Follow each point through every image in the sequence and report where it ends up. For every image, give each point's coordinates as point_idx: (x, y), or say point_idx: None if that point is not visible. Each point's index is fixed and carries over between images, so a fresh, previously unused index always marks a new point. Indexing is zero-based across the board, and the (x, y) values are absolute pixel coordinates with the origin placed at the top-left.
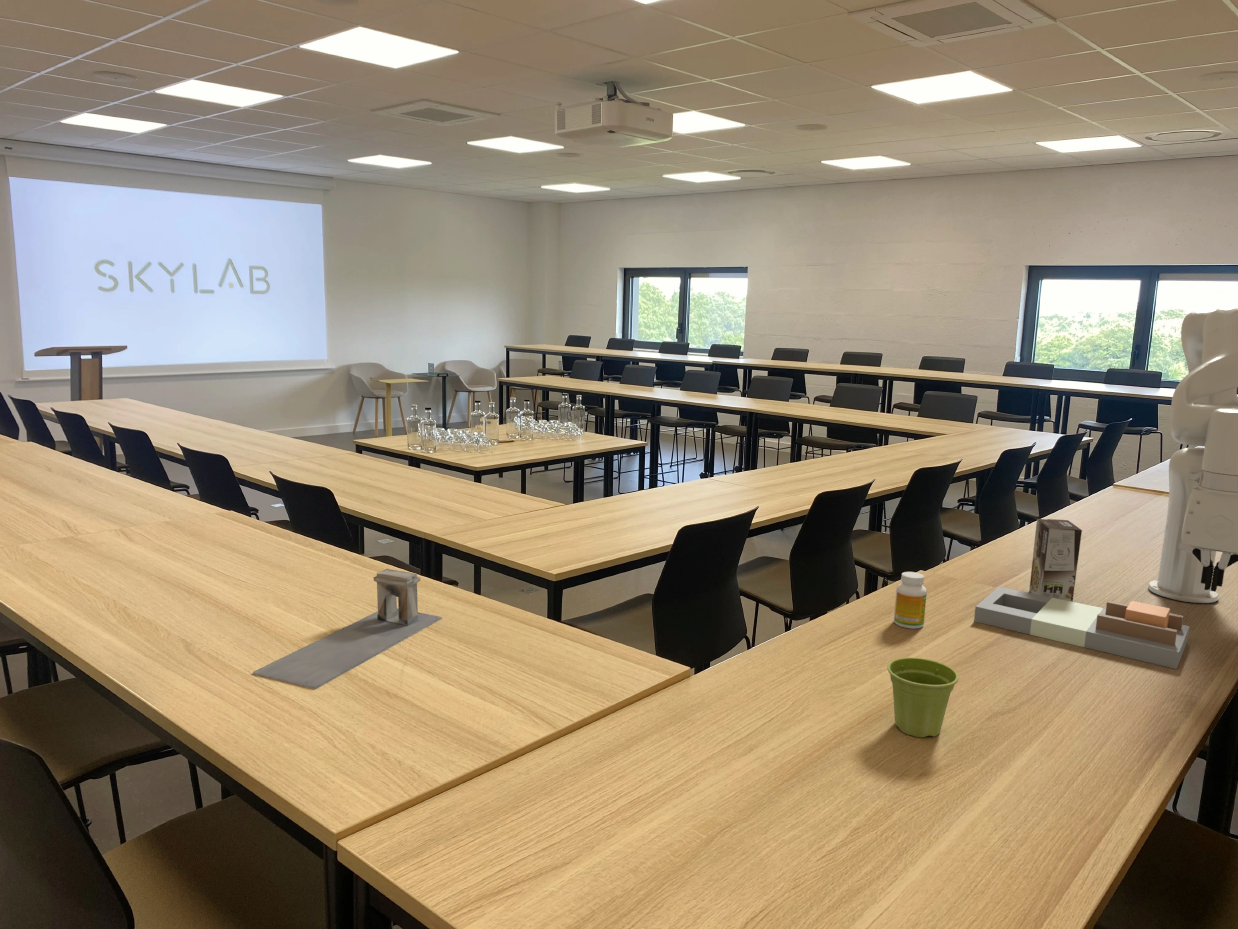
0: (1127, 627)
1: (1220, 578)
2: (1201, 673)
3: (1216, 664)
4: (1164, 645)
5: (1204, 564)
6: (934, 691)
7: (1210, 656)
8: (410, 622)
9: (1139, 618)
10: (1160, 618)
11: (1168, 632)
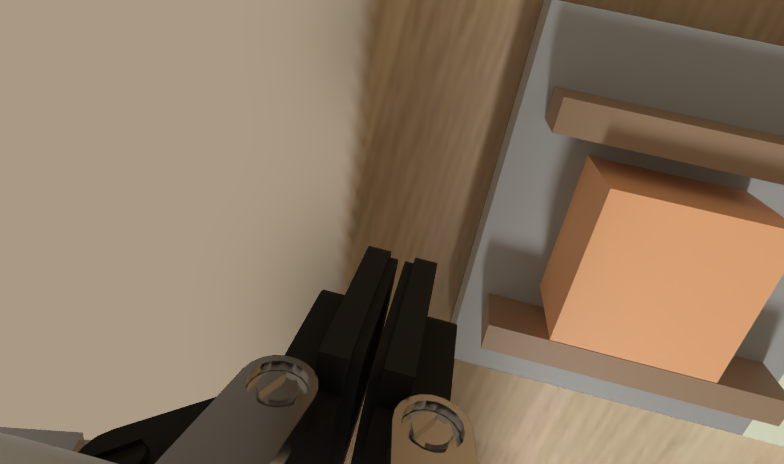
0: (773, 139)
1: (321, 323)
2: (455, 6)
3: (389, 143)
4: (600, 66)
5: (439, 422)
6: None
7: (398, 216)
8: None
9: (718, 204)
10: (629, 190)
11: (594, 103)
